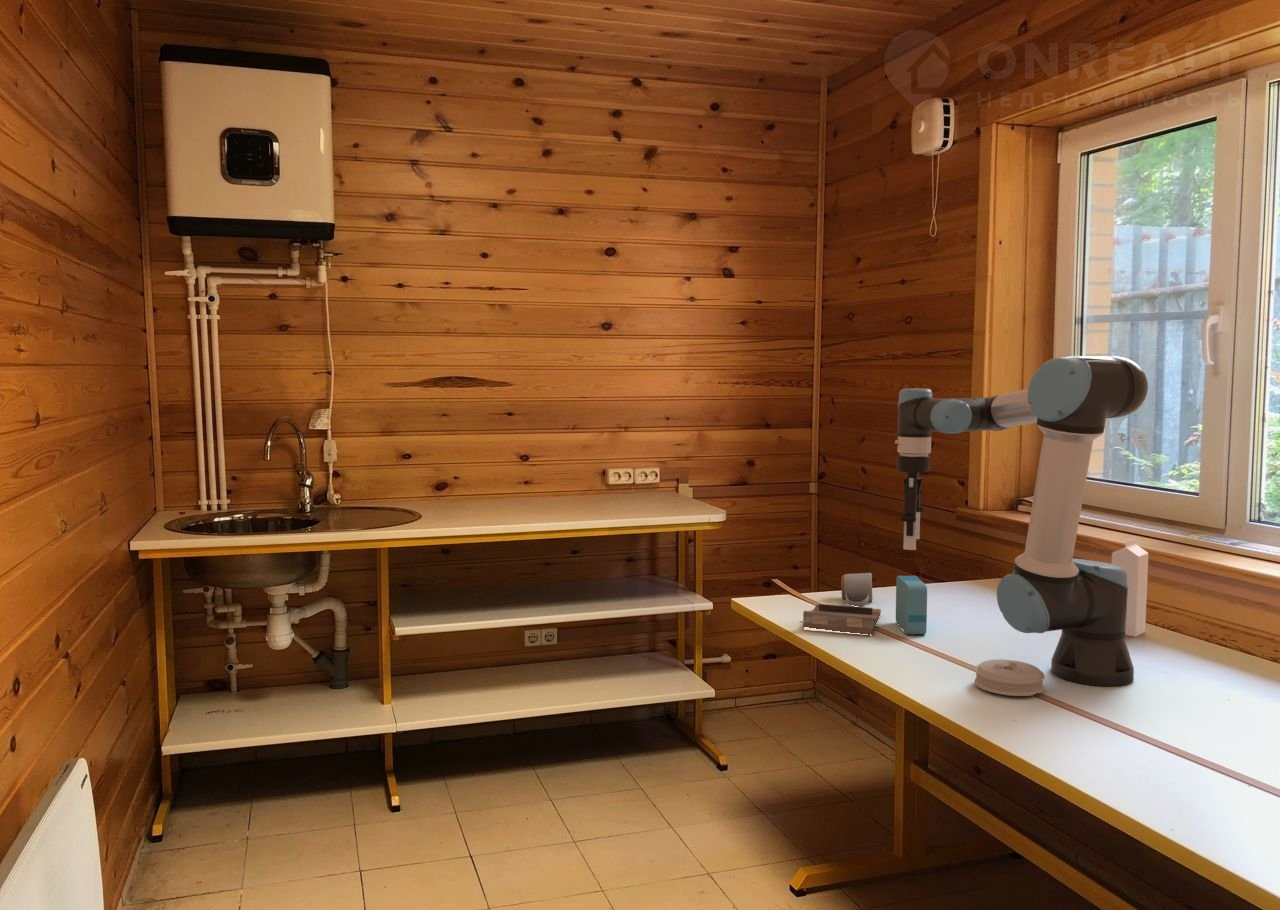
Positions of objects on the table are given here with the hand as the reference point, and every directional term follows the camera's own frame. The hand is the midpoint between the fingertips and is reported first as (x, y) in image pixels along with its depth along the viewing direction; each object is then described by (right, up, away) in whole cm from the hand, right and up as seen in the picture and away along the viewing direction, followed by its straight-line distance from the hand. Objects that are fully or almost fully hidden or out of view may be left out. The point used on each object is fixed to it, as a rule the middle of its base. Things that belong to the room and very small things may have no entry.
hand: (911, 544), depth 227 cm
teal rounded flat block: (0, -21, +2) cm, 21 cm away
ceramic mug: (-6, -18, +28) cm, 34 cm away
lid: (+8, -25, -40) cm, 48 cm away
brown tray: (-15, -20, +8) cm, 26 cm away
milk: (+50, -21, -2) cm, 54 cm away
